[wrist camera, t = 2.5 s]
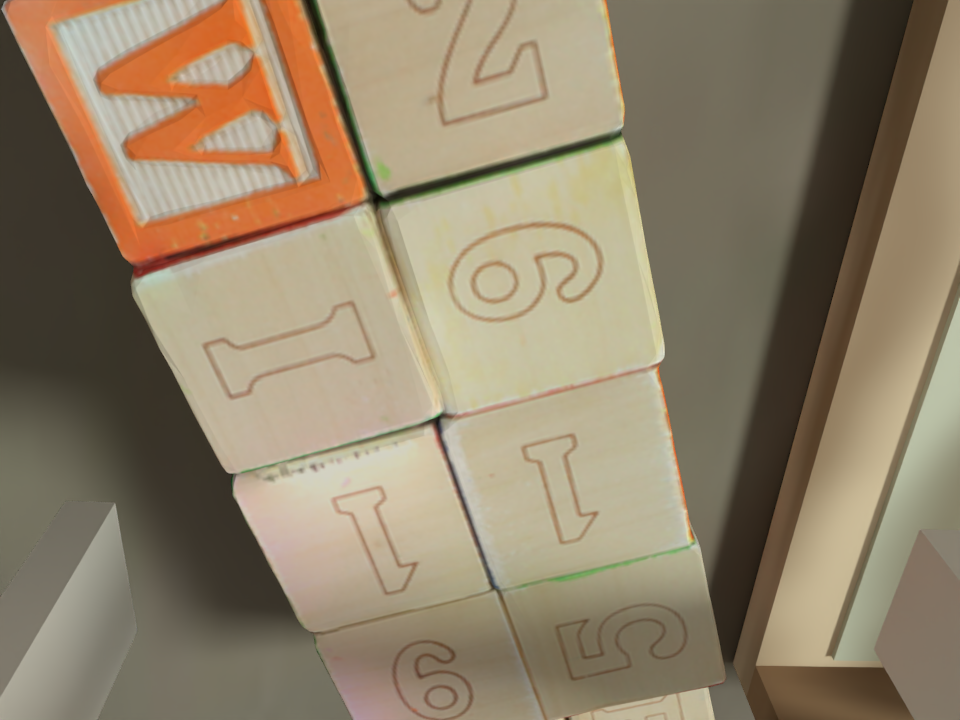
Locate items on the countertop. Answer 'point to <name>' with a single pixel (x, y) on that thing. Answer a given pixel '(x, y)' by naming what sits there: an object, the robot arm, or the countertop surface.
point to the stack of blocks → (408, 331)
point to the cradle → (871, 413)
